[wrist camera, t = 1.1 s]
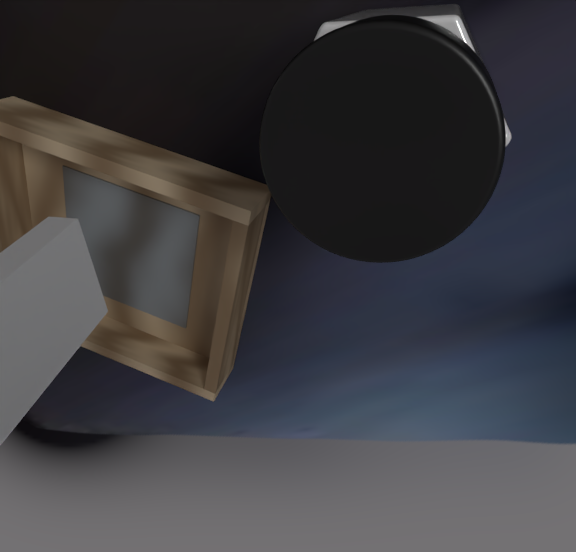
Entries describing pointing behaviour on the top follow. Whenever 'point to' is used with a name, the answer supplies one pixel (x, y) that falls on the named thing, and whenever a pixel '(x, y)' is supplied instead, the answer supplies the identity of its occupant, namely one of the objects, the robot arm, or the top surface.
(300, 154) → the jar
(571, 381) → the top surface
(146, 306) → the crate
